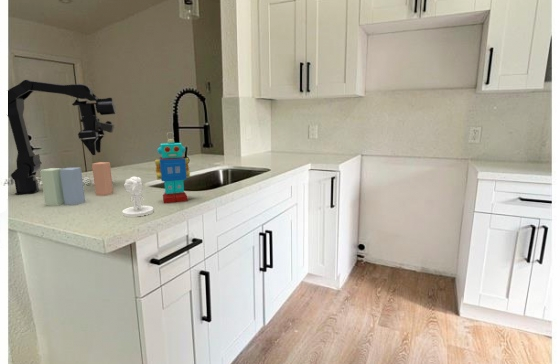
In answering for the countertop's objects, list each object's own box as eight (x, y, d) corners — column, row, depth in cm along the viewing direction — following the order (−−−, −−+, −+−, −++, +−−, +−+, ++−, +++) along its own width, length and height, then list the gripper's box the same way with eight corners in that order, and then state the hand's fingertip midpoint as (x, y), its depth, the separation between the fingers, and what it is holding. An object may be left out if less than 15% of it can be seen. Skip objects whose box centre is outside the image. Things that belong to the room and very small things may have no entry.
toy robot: (159, 203, 115) (153, 133, 110) (158, 199, 121) (152, 132, 115) (192, 200, 120) (188, 132, 114) (189, 196, 125) (185, 131, 120)
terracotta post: (95, 195, 128) (91, 163, 125) (102, 192, 132) (99, 162, 129) (106, 195, 127) (102, 164, 125) (113, 192, 132) (109, 162, 129)
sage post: (45, 205, 114) (40, 170, 111) (55, 202, 118) (50, 168, 115) (57, 205, 113) (52, 170, 111) (67, 202, 118) (62, 168, 115)
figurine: (134, 219, 99) (130, 180, 96) (116, 214, 104) (112, 177, 101) (159, 211, 106) (156, 175, 104) (141, 207, 111) (138, 173, 109)
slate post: (64, 204, 115) (59, 169, 112) (73, 201, 119) (69, 167, 117) (76, 204, 114) (72, 169, 112) (85, 201, 119) (80, 167, 116)
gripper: (105, 114, 127) (113, 154, 131) (114, 114, 144) (120, 149, 148) (73, 117, 124) (82, 157, 127) (86, 116, 141) (93, 152, 145)
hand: (96, 153), depth 137 cm, fingers open, 9 cm apart
